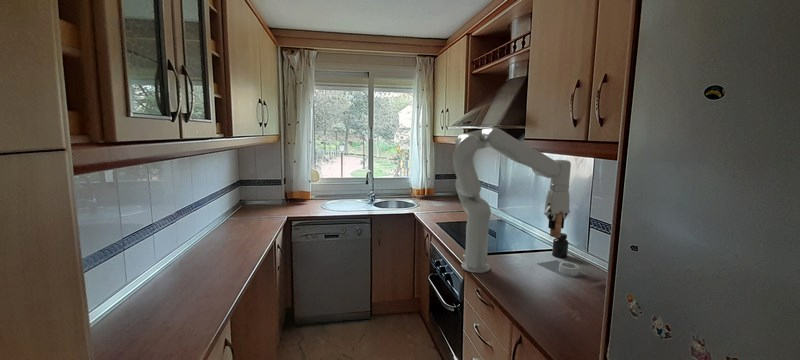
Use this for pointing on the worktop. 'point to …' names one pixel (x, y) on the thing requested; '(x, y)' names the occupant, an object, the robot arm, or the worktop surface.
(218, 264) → the worktop surface
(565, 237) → the supplement bottle
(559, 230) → the rail post
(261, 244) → the worktop surface
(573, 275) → the bracket board
